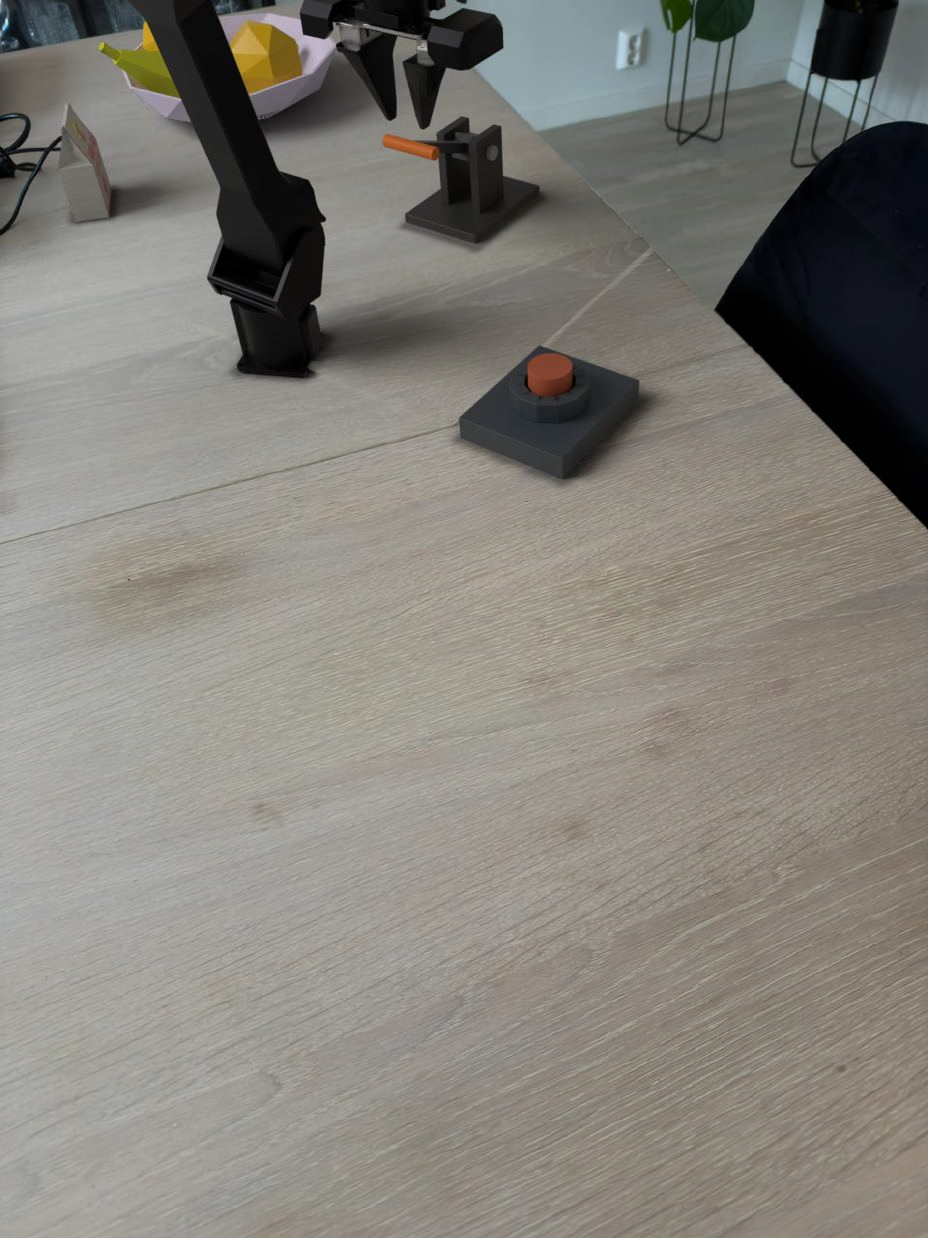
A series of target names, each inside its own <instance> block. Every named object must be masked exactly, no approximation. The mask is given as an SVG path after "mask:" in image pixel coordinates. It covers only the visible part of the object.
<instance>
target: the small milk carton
mask: <svg viewBox="0 0 928 1238" xmlns="http://www.w3.org/2000/svg"><path fill="white" fill-rule="evenodd" d="M62 115H63V116H62V122H61V127H60V128H61V129H60V131H61V133H60V134H61V142H60V151H59V157H58V164H57V172H58V175H59V179H60V182H61V184H62V187H63V189H64V190H63V191H64V193H65V196H66V199H67V202H68V204H69V208H70V210H71V213H72V216H73V219H74V222H75V223H81V222H86V221H94V220H100V219H101V220H102V219H107V218H110V214H111V203H112V202H111V201H112V190H113V189H112V186H111V183H110V180H109V177H108V174H107V169H106V167H105V164H104V160H103V157H102V155H101V151H100V148H99V145H98V141H97V137H96V136H95V135H94V134H93V132H92V131H91V130H90V129H89V128H88V127H87V125H86V124H85V123H84V122H83V121H82V119H81V118H80V117H79V115H77V113H76V112H75V110H74V109H73V107H72V105H71V103H70V102H69V101H68V102H67V103H66V102H64V109H63V114H62Z"/></svg>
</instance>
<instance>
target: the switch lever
mask: <svg viewBox="0 0 928 1238" xmlns="http://www.w3.org/2000/svg"><path fill="white" fill-rule="evenodd" d="M478 134H479V133H475V132H471V131H470V132H455V138H454V141H437V140H423V139H422V140H420V139H419V140H415V139H414V140H413V139H408V138H405V137H401V136H397V135H394V134H390V133H386V134H384V135H383V137H382V142H381V143H382V146H383V147H384V148H387V149H391V150H393V151H397V152H401V153H404V154H405V153H406V154H408V155H412V156H416V157H420V158H423V159H426V160H430V161H433V162H434V161H435V162H436V161H438V157H439V154H448V153H452V157H453V158H456V159H460V160H464V161H467V162H470V159H469V141H470V140H471V139H473V138H474V137H476V136H477V135H478Z"/></svg>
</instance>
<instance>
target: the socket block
mask: <svg viewBox="0 0 928 1238" xmlns="http://www.w3.org/2000/svg"><path fill="white" fill-rule="evenodd" d="M546 353H555V354H560V355H563V356H565V357H567V358H568V359H569V360H570V361H571V362H572V365H573V371H572V387H571V388H570V390H569V391H568V392H566V393H564V394H561V395H558V396H540V395H537V394H535V393H533V392H532V391H531V390H530V389H529V387H528V364H529V362H530V361H531V359H533V358H534V357H536V356H538V355H541V354H546ZM639 393H640V380H639V379H637V378H634V377H631V376H628V375H626V374H623V373H620V372H617V371H614V370H611V369H609V368H606V367H603V366H600V365H597V364H594V363H591V362H588V361H585V360H583V359H580V358H577V357H575V356H572V355H570V354H569V355H568V354H565V353H562V352H560V351H557V350H554V349H552V348H549V347H546V346H543V345H540V344H539V345H538V346H536V348H534V349H533V350H532V351H531V352H530V353H529V354H528V355H527V356H526V357H524V359H522V360H521V361H520V362H519V363H518V364H517V365H516V366H514V367H513V368H512V369H511V370H510V371H509V372H508V373H506V375H504V376H503V377H502V378H501V379H499V381H498V382H497V383H496V384H495V385H493V386H492V387H491V388H490V389H489V390H488V391H487V392H486V393H484V394H483V396H481V397H480V398H479V399H478V400H477V401H475V403H474V404H473V405H471V406H470V407H469V408H468V409H467V410H466V411H465V412H464V413H462V415H460V416H459V417H458V424H459V437H460V439H462V440H464V441H467V442H469V443H471V444H474V445H476V446H479V447H481V448H484V449H486V450H489V451H491V452H492V453H493V452H494V453H496V454H498V455H501V456H504V457H505V458H507V459H511V460H513V461H515V462H518V463H520V464H522V465H525V466H527V467H530V468H532V469H534V470H537V471H540V472H542V473H545V474H547V475H550V476H552V477H554V478H557V479H559V480H564V479H565V478H566V477H567V475H569V473H571V472H572V471H573V469H574V468H575V467H577V465H578V464H579V463H580V462H581V461H582V460H583V459H584V458H585V457H586V456H587V455H588V454H589V453H590V452H591V450H593V448H595V447H596V445H598V443H599V442H600V441H602V439H603V438H604V437H605V436H606V435H607V434H608V433H609V431H611V430H612V429H613V428H614V427H615V426H616V425H617V423H619V421H621V419H623V417H625V415H626V414H627V413H628V412H629V411H630V410H631V409H632V408H633V407H634V406H635V405H636V404H637V403H638V402H639V395H640V394H639Z"/></svg>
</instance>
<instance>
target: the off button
mask: <svg viewBox="0 0 928 1238" xmlns="http://www.w3.org/2000/svg"><path fill="white" fill-rule="evenodd" d="M572 371H573V365H572V362H571V361H570V360H569V359H568V358H567V357H565V356H563V355H560V354H555V353H546V354H541V355H538V356H536V357H534V358H533V359H531V361H530V362H529V364H528V387H529V389H530V390H531V391H532V392H533V393H535V394H537V395H540V396H558V395H561V394H564V393H566V392H568V391H569V390H570V388H571V387H572Z"/></svg>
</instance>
